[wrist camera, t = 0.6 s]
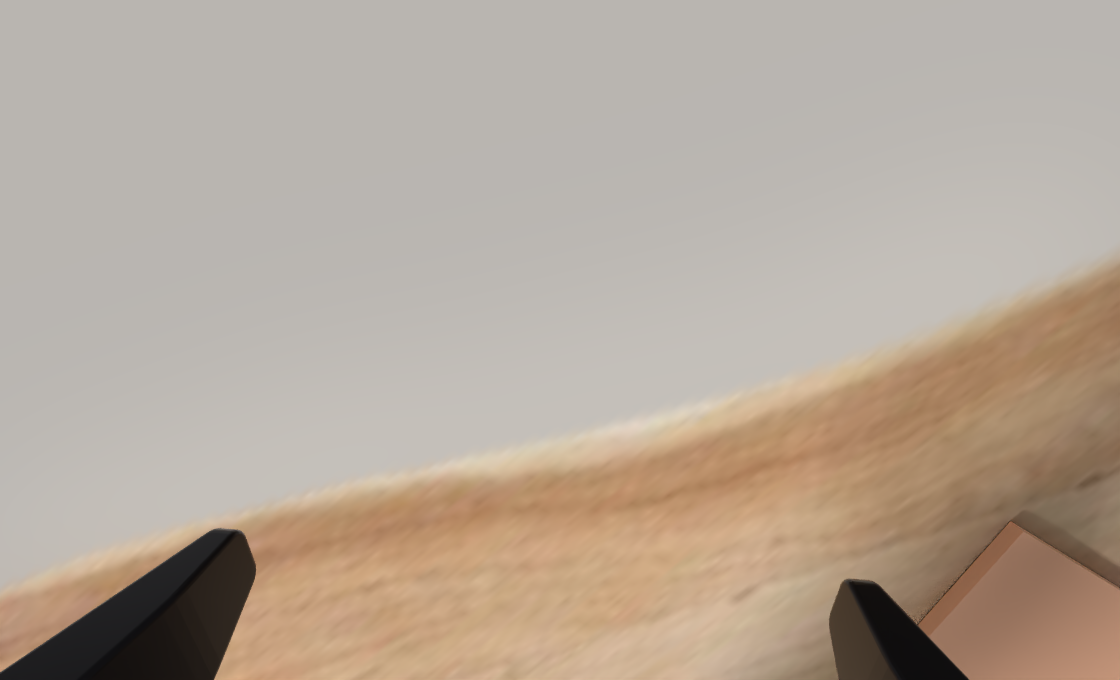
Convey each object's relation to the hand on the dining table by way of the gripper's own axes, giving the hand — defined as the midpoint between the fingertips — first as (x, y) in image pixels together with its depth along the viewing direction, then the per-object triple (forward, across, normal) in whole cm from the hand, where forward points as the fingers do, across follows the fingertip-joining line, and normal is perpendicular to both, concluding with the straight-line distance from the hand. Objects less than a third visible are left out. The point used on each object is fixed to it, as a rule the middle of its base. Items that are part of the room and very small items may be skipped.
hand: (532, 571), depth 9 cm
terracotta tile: (+11, -20, +18) cm, 29 cm away
